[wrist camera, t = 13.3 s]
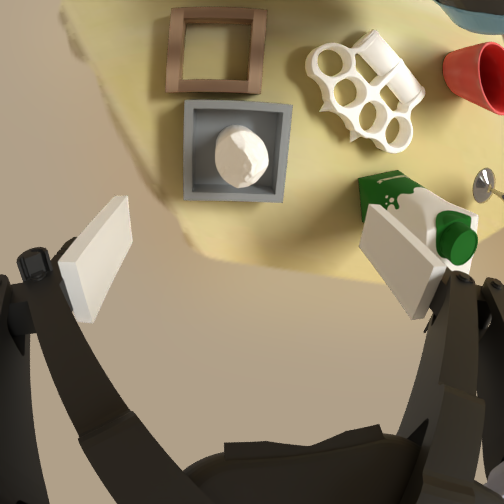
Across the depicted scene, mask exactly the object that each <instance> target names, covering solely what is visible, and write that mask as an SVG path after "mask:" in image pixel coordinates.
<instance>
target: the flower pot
mask: <svg viewBox="0 0 504 504" xmlns="http://www.w3.org/2000/svg"><path fill="white" fill-rule="evenodd" d="M443 76H444V79H445V82H446V84H447V86H448V87H449V89H450V90H451V91H452V92H453V93H454V94H456V95H458V96H460V97H462V98H464V99H466V100H468V101H470V102H472V103H474V104H476V105H478V106H481V107H483V108H485V109H487V110H489V111H491V112H493V113H496V114H498V115H504V48H503V47H502V46H500V45H499V44H497V43H495V42H485V43H481V44H477V45H473V46H469V47H465V48H462V49H459V50H456V51H453V52H450V53H449V54H447V56H446V57H445V59H444V61H443Z"/></svg>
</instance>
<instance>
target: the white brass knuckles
mask: <svg viewBox="0 0 504 504" xmlns="http://www.w3.org/2000/svg"><path fill="white" fill-rule="evenodd" d="M324 50H333V51H335V52H337V53H338V54H339V55H340V57H341V58H342V61H343V67H342V69H341V71H340V72H339V73H338V74H336V75H334V76H332V77H330V76H327V75H325V74H324V73H323V72H322V71H321V70H320V69H319V67H318V63H317V59H318V56H319V54H320V53H321V52H322V51H324ZM355 54H359V55H360V56H361V57H362V58H363V59H364V60H365V61H366V62H367V63H368V64H369V66H370V67H371V68H372V69H373V70H374V71H375V72H376V73H377V76H376V77H375V78H374V79H373V80H372V81H371V82H370V83H368V82H367V81H366V80H365V79H364V78H363V77H362V76H361V75H360V74H359V73H358V72H357V70H356V68H355V66H356V60H355ZM305 70H306V73H307V76H308V77H310V78H312V79H313V80H314V81H315V82H316V83H317V84H318V85H319V87H320V89H321V93H322V100H323V101H324V104H323V105H322V107H321V109H320V111H319V112H323V111H330V112H333V113H335V114H337V115H338V116H339V117H340V118H341V119H342V120H343V122H344V124H345V127H346V128H347V129H348V130H350V143H351V142H352V141H354V140H355V139H357V138H358V137H360V136H361V137H364V138H370V139H371V140H372V141H373V142H374V144H375V146H376V148H379V149H381V150H383V151H385V152H388V153H399V152H401V151H403V150H405V149H406V148H407V147H408V145H409V144H410V142H411V140H412V136H413V127H412V123H411V121H410V115H411V110H412V109H413V108H414V107H415V106H416V105H417V104H418V103H419V102H420V101H421V100H422V99H423V98H424V96H425V93H426V92H425V89H424V87H423V86H421V85H420V84H419V82H418V81H417V80H416V78H415V77H414V76H413V74H412V73H411V72H410V70H409V69H408V68H407V67H406V65H405V64H404V61H403V60H402V59H401V58H399V57H398V56H397V54H396V53H395V52H394V51H393V50H392V48H391V47H390V46H389V45H388V44H387V43H386V42H385V41H384V39H383V38H382V37H381V36H380V35H379V32H378V31H377V30H374V29H372V30H370V31H369V32H367V33H366V34H365V35H363V36H362V37H361V38H360V39H359V40H358V41H357V42H356V43H355V44H354V45H353V46H352V48H348V47H346V46H344V45H342V44H339V43H326V44H323V45H321V46H319V47H317V48H315V49H313V50H312V51H311V52H310V53H309V54H308V56H307V58H306V61H305ZM345 78H346V79H349V80H350V81H352V82H353V83H354V85H355V87H356V90H357V94H356V98H355V99H354V101H353V102H351V103H349V104H347V105H345V106H341V105H339V104H338V103H337V102H336V100H335V98H334V93H333V91H334V87H335V85H336V84H337V83H338V82H339V81H341V80H343V79H345ZM385 85H387V86H388V87H389V89H390V90H391V91H392V92H393V93H394V95H395V96H396V97H397V98H398V100H399V101H400V102H399V103H398V104H397V109H396V110H395V111H391V109H390V108H389V107H388V106H387V104H386V103H385V102H384V101H383V100H382V98H381V97H380V90H381V89H382V88H383V87H384V86H385ZM368 102H370V103H372V104H373V105H374V107H375V109H376V119H375V121H374V123H373V125H372V126H371V127H370V128H369V129H368V130H365V131H364V130H363V129H362V128H361V127H360V124H359V114H360V112H361V110H362V108H363V106H364V105H365V104H366V103H368ZM394 117H395V118H396V119H397V120H398V122H399V132H398V135H397V137H396V139H395V140H394V141H393V142H392V143H389V144H388V143H387V141H386V138H385V131H386V128H387V126H388V124H389V122H390V121H391V120H392V119H393V118H394Z"/></svg>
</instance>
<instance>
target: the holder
mask: <svg viewBox="0 0 504 504" xmlns="http://www.w3.org/2000/svg"><path fill="white" fill-rule="evenodd" d="M266 21H267V10H264V9H252V8H236V7H183V8H172V9H171V18H170V29H169V40H168V53H167V69H166V90H165V92H167V93H175V92H226V93H248V94H261V86H262V72H263V59H264V46H265V34H266ZM195 23H221V24H245V25H251V34H250V47H249V60H248V73H247V81H242V80H214V79H191V80H182V76H183V59H184V46H185V33H186V24H195Z"/></svg>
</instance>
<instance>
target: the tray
mask: <svg viewBox="0 0 504 504" xmlns="http://www.w3.org/2000/svg"><path fill="white" fill-rule="evenodd" d="M292 108H293V105H288V104H280V103H269V102H255V101H237V100H185V104H184V142H183V191H184V200H204V201H248V202H274V203H283V196H284V187H285V178H286V168H287V159H288V149H289V139H290V129H291V118H292ZM231 125H242V126H245V127H247V128H249V129H250V130H251V131H252V132H253V133H255V134H256V135H257V136H258V137H259V138H260V139H261V140H262V141H263V142H264V144H265V147H266V149H267V152H268V160H269V162H268V166H267V168H266V170H265V172H264V173H263V175H262V176H261V177H260V178H259V179H258V181H257V182H255V183H254V184H252V185H250V186H248V187H244V188H243V187H242V188H236V187H234V186H232V185H231V184H229V183H227V182H226V181H225V180H224V179H223V178H222V177H221V175H220V174H219V172H218V170H217V167H216V164H215V148H216V139H217V137H218V135H219V133H220V132H221V131H222V130H223V129H224V128H226V127H228V126H231Z"/></svg>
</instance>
